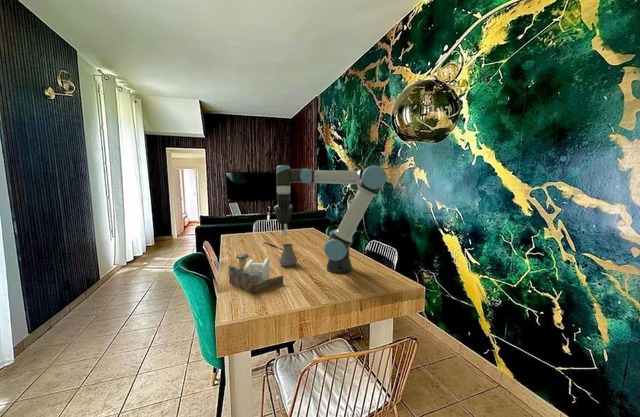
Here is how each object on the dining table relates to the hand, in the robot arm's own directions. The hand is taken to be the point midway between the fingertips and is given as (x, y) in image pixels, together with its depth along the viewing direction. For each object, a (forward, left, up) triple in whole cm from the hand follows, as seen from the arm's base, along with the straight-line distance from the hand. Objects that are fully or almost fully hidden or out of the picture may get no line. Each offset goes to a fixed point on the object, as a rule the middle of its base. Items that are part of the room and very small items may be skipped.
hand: (284, 235), depth 146 cm
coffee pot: (+15, -9, -22) cm, 28 cm away
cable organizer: (-1, +19, -22) cm, 29 cm away
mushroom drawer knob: (+20, +15, -22) cm, 33 cm away
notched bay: (0, +19, -22) cm, 29 cm away
